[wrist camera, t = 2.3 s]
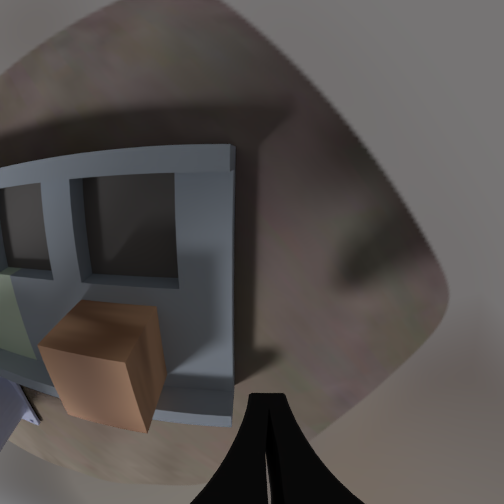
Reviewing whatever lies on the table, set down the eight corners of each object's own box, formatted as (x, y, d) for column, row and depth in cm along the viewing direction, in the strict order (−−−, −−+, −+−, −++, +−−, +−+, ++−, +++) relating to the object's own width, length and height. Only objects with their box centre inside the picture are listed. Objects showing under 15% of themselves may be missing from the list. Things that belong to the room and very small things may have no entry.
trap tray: (-10, 341, 17) (-31, 362, 14) (-46, 181, 13) (-77, 190, 10) (234, 385, 18) (231, 427, 14) (235, 146, 13) (230, 144, 10)
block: (98, 364, 15) (68, 414, 11) (81, 299, 14) (37, 345, 10) (167, 374, 16) (147, 433, 11) (156, 306, 14) (125, 362, 10)
